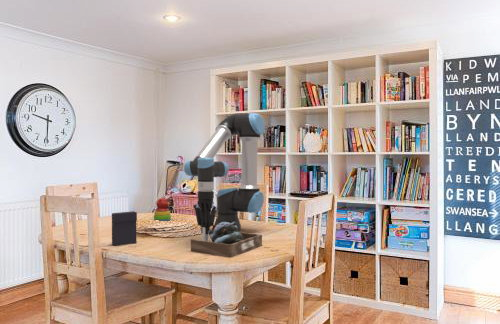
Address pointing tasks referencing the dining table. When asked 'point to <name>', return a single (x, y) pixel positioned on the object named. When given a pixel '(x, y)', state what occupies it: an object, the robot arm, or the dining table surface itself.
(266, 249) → the dining table surface
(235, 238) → the dark grey rounded lump
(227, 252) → the labelled bay
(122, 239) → the upright charcoal panel
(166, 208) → the stacking bear
